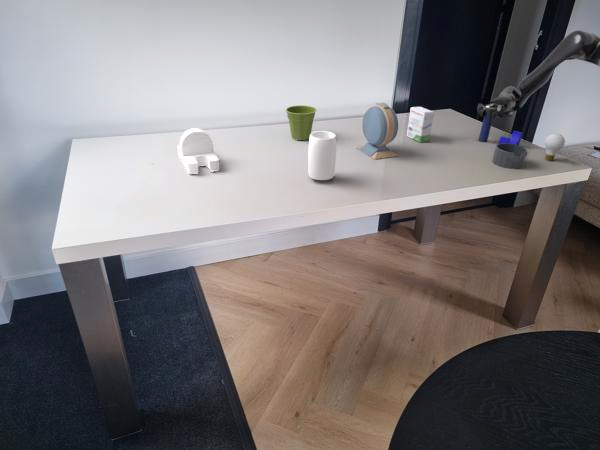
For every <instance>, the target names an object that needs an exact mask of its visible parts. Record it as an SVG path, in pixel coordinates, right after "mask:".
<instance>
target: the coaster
mask: <svg viewBox="0 0 600 450" xmlns="http://www.w3.org/2000/svg"><path fill="white" fill-rule="evenodd" d="M471 140H472V141H473V142H479V141H478V140H479V137H477V138H476V137H475V138H472V139H471ZM486 143H487V144H494V141H493V140H490V139H488V140H487V142H486Z"/></svg>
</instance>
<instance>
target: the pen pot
mask: <svg viewBox="0 0 600 450" xmlns="http://www.w3.org/2000/svg"><path fill="white" fill-rule="evenodd" d="M528 153H529V150H528V149H527V148H526V147H525V146H523V145H520V144H519V145H516V144H510V143H501V144H499V143H497V144H495V147H494V151H493V155H492V158H491V162H492V164H494V165H495V166H498V167H500V168H504V169H509V170H518V169H522V168H524V165H525V163H526V160H527V155H528Z"/></svg>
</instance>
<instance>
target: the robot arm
mask: <svg viewBox="0 0 600 450" xmlns="http://www.w3.org/2000/svg"><path fill="white" fill-rule="evenodd" d="M569 59H574V60H577V61H578V60H579V61H584V62H587V63H590V64H593V65H596V66H598V67H600V36H599V35H597V34H595V33H592V32H590V31H589V32H588V31H585V30H579V29H578V30H574V31H571V32H570V33H569V34H568V35H566V36H565V37H564V38H563V39H562V40H561V41H560V42H559V44H557V46H556V47H555V48H554V49H553V50H551V52H550V53H549V54H548V55H547V57H546V58H545V59H544V60H543V61H542V62H541V63H540V64H539V65H538V66H537V67H536V68H535V69H533V70H532V71H531V72H529V73H528V74H527V75H526V76H525V77H524V78H522V79H521V80H520V81H519V83H518V89H519V90H518V89H517V88H516V87H515V86H513V85H510V86H506V87H505V88H504V89H502V91H501V92H500V93H499V95H498V96H496V97H495V98H494V99H492V100H491V101H489V103H487V104H485V105H484V104H482V103H477V107H476V108H477V109H476V112H477V114H479V116H480V117H483V118H484V114H485V110H486V107H493V108H495V111H494V112H493V113H492V116H491V118H492V119H495V118H497V119H498V118H501V119H505V118H511V117H512V116H513V114H514V112H517V111H518V110H520V109H521V108H522V107H523V106H524V104H526V102H527V100H528V99H529V98H530V97H531V96H532V95H533V94H534V93H535V92H536V91H538V90H539V89H540V88H542V87H543V86H544V85H545V84H546V83H547V82H549V80H550V78H551V77H552V75H553V73H554V71H555V70H556V69H557V67H558V66H560V65H561V64H562V63H564V62H565V61H567V60H569Z"/></svg>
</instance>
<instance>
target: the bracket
mask: <svg viewBox="0 0 600 450" xmlns="http://www.w3.org/2000/svg"><path fill="white" fill-rule="evenodd" d="M176 147H177V155H179V156H178V158H179V157H180V158H179V160H180V159H181V160H180V162H181V161H182V162H181V164H182V163H183V164H182V166H183V165H184V166H183V167H185V168H184V170H185V169H186V170H187V172H188V173H191V174H192V173H198V172H199V168H198V166H201V165H205V166H208V168H209V169H210V171H211V170H218V169H219V170H220V159H219V157H218V156H217V155H216V153H215V152H214V143H213V140H212V138H211V136H210V135H209V134H208V133H207V132H206V131H205V130H204V129H202V128H199V127H192V128H188V129H187V130H185V131H184V132H183V133H182V135H181V136H180V139H179V144H177V145H176ZM208 168H207V169H208ZM209 169H208V170H209ZM186 170H185V171H186ZM210 171H209V172H210ZM187 172H186V173H187ZM188 173H187V174H188Z"/></svg>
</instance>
